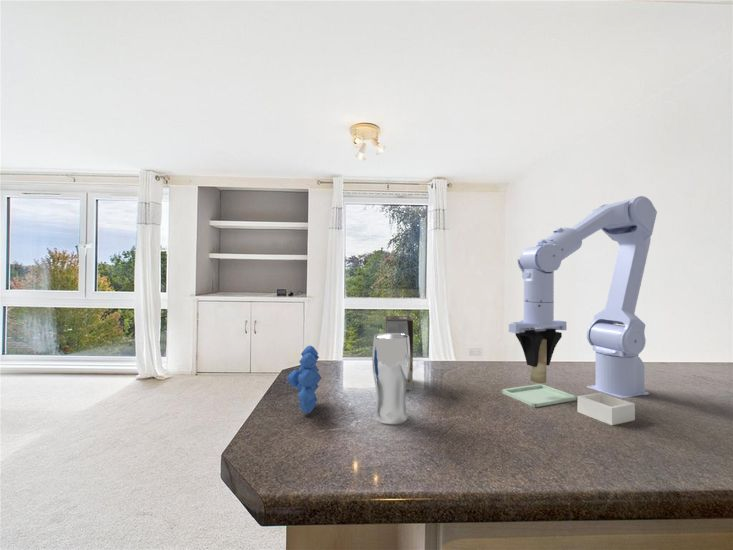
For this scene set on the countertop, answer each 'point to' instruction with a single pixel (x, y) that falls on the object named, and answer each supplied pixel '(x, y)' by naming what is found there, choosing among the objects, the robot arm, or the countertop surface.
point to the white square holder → (606, 408)
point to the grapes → (306, 379)
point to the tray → (538, 395)
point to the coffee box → (403, 327)
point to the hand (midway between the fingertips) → (538, 365)
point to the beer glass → (391, 376)
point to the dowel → (540, 364)
